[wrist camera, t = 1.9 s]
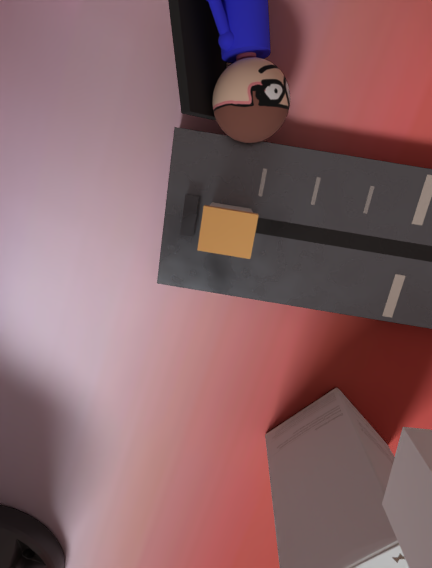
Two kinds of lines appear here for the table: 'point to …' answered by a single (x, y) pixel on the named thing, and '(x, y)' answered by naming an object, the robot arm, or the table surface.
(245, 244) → the block
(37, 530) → the robot arm
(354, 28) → the table surface
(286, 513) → the supplement box
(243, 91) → the character figurine
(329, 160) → the panel
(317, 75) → the table surface
